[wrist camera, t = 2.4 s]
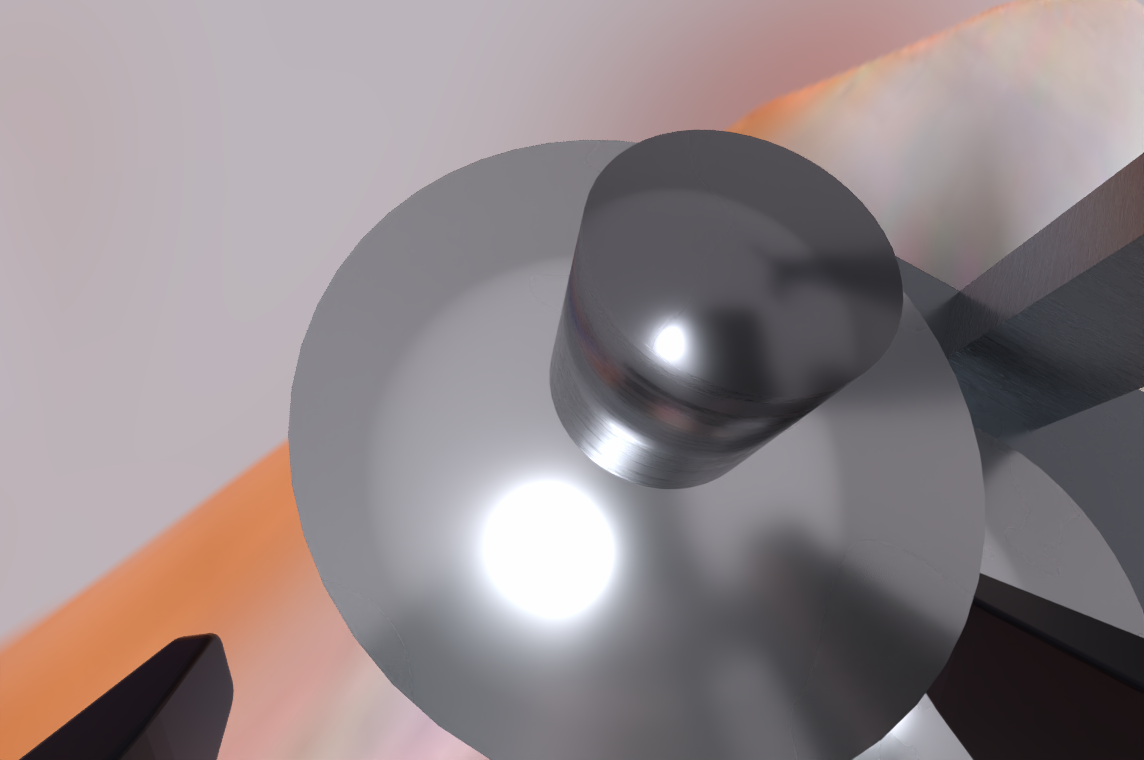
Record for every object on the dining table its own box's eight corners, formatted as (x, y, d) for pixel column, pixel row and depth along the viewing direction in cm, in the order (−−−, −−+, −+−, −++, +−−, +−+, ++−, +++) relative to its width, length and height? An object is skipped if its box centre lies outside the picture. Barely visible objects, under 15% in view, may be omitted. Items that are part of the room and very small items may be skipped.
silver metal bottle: (635, 653, 15) (1532, 691, 2) (453, 701, 14) (34, 1361, 1) (594, 481, 17) (922, -33, 4) (432, 510, 16) (202, -65, 3)
